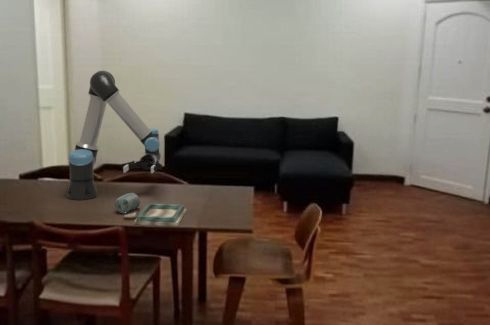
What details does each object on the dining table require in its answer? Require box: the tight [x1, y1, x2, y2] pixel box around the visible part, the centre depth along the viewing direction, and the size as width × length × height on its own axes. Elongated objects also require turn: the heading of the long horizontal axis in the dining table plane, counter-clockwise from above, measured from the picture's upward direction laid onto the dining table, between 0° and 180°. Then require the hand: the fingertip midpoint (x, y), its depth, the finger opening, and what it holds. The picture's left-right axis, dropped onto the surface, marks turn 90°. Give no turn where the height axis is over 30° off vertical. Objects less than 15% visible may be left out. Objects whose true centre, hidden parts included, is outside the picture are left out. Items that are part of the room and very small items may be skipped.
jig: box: [133, 203, 187, 227], centre depth 248 cm, size 19×22×4 cm
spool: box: [114, 192, 141, 214], centre depth 257 cm, size 14×10×10 cm
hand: (137, 170), depth 267 cm, fingers open, 13 cm apart
